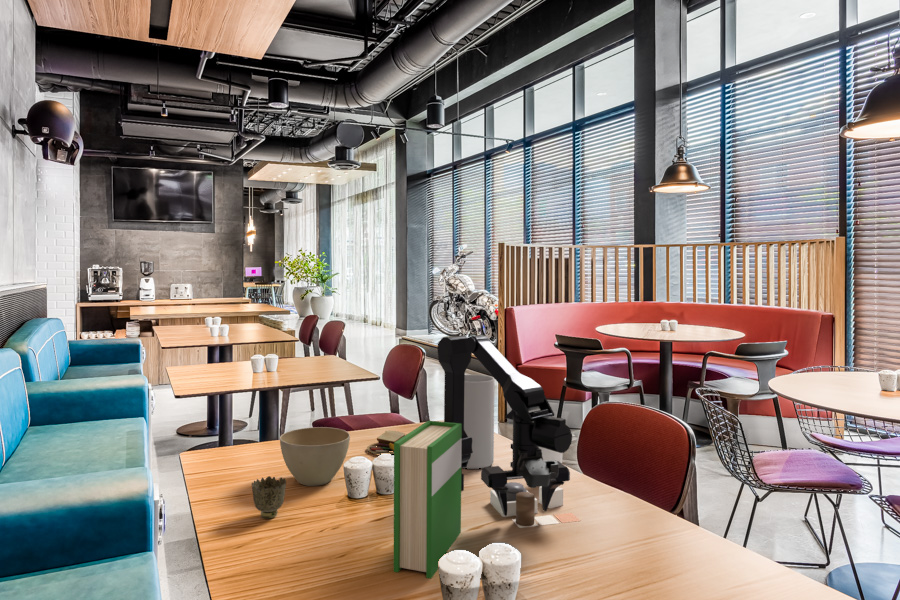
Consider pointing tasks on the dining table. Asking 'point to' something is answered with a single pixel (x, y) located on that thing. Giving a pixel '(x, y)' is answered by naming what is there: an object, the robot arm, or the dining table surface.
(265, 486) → the cup
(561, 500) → the die
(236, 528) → the dining table surface
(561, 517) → the board
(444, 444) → the hardback book
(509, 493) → the popper button
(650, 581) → the dining table surface
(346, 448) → the deep taupe bowl
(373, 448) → the toy sandwich meal
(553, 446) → the robot arm
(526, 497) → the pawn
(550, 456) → the white tapered vase
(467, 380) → the cylinder vase
